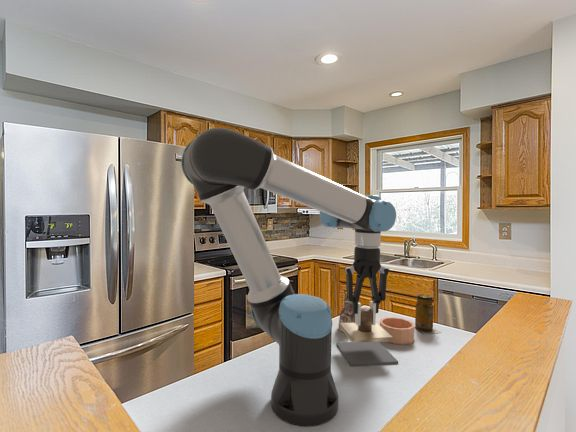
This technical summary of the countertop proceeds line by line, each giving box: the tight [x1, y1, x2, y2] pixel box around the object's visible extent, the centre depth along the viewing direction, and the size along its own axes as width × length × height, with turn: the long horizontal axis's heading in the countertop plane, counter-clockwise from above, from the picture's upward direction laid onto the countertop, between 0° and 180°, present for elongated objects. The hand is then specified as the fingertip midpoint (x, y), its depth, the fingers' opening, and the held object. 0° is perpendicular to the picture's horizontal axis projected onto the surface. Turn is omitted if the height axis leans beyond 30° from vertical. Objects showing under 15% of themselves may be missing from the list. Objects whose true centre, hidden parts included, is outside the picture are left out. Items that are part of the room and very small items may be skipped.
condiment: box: [414, 294, 442, 335], centre depth 117 cm, size 7×8×12 cm
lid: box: [340, 307, 393, 343], centre depth 97 cm, size 12×12×7 cm
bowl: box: [379, 316, 415, 346], centre depth 110 cm, size 11×11×5 cm
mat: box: [336, 341, 399, 367], centre depth 98 cm, size 14×14×1 cm
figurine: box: [338, 297, 355, 333], centre depth 117 cm, size 7×7×12 cm
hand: (365, 323), depth 97 cm, fingers closed on lid, 4 cm apart
